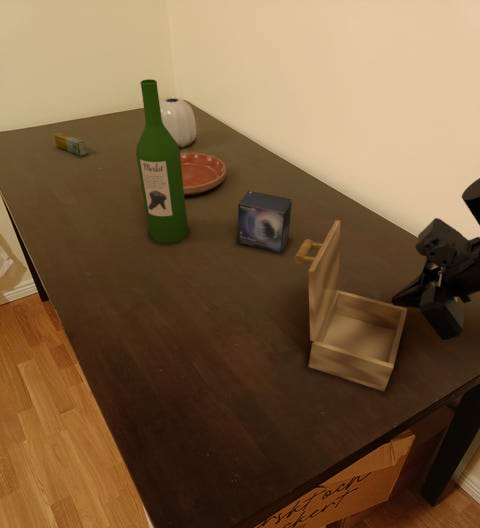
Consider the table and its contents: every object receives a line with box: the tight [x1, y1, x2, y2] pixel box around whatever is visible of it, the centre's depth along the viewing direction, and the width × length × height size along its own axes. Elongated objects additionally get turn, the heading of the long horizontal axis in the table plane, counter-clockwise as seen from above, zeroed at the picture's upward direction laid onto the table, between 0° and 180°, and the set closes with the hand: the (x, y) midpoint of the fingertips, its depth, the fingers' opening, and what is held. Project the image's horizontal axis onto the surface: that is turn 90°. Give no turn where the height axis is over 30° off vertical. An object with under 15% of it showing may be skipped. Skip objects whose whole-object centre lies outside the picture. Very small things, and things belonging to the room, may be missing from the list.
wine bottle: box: [135, 78, 189, 244], centre depth 90 cm, size 9×9×32 cm
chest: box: [307, 289, 408, 392], centre depth 73 cm, size 13×15×6 cm
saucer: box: [180, 152, 227, 196], centre depth 120 cm, size 23×23×4 cm
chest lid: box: [293, 219, 341, 343], centre depth 69 cm, size 13×15×5 cm
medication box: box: [53, 132, 87, 157], centre depth 135 cm, size 12×3×4 cm, turn 54°
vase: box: [159, 96, 197, 149], centre depth 136 cm, size 14×14×13 cm
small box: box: [237, 190, 293, 254], centre depth 95 cm, size 11×6×10 cm, turn 68°
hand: (392, 302), depth 65 cm, fingers closed
